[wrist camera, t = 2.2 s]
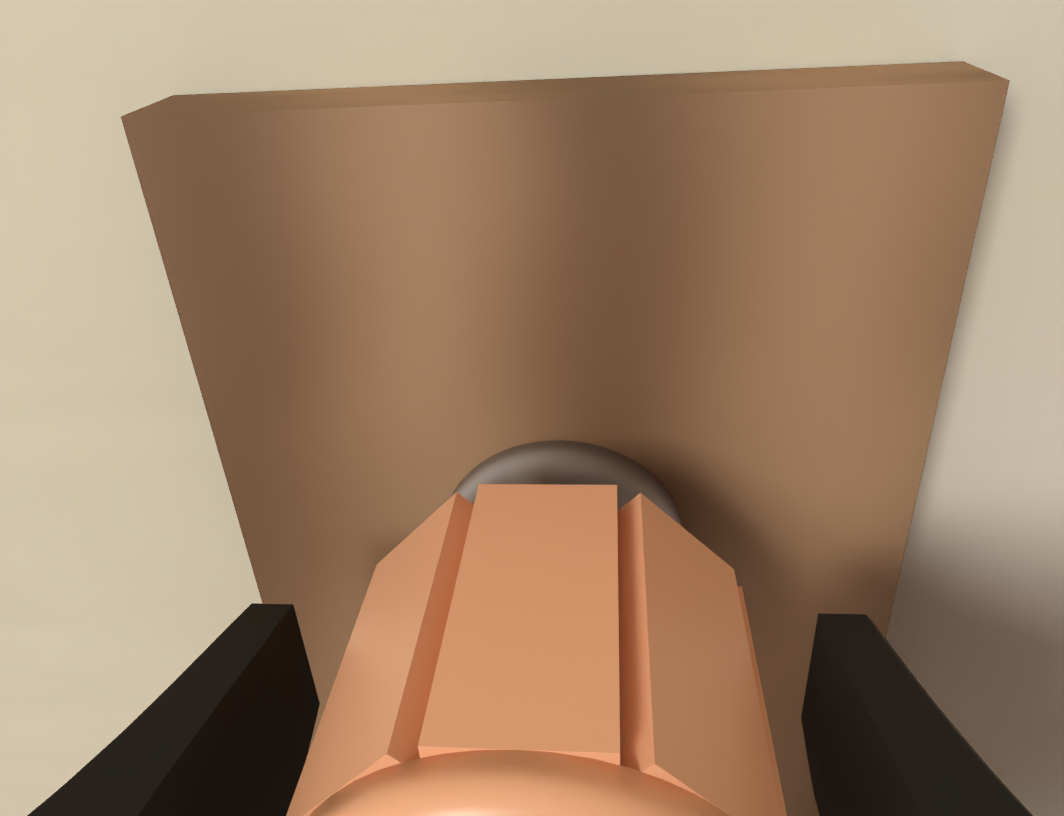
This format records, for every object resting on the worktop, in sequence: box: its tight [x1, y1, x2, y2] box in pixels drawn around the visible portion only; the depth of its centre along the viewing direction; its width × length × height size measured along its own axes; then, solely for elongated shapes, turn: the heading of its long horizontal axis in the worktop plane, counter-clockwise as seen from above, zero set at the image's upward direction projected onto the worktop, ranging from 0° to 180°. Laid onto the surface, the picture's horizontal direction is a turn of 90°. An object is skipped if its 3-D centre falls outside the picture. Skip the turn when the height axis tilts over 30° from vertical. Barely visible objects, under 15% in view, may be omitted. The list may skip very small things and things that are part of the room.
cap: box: [286, 484, 787, 816], centre depth 10 cm, size 5×5×5 cm
